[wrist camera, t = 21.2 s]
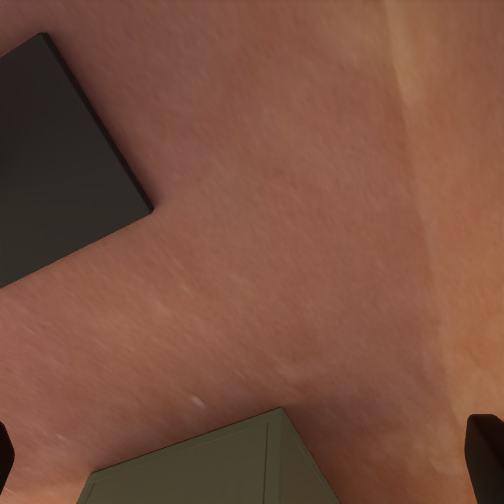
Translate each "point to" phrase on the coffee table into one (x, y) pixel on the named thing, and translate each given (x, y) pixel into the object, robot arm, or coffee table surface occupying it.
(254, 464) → the cabinet
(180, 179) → the coffee table surface
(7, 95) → the mat
